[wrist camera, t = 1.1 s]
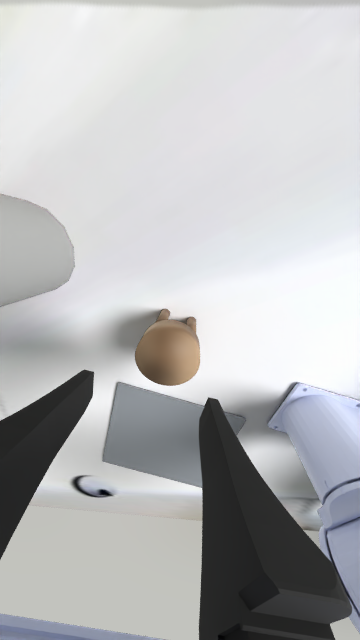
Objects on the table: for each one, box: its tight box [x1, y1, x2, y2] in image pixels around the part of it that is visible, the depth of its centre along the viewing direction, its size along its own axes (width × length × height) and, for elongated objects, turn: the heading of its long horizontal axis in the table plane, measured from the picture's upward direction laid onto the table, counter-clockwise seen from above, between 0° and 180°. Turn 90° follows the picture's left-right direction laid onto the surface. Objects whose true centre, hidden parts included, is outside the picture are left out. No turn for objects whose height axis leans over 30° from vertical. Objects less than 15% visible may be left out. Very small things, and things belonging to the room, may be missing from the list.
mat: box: [103, 382, 246, 488], centre depth 28 cm, size 18×18×1 cm
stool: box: [135, 309, 200, 386], centre depth 18 cm, size 5×5×6 cm
